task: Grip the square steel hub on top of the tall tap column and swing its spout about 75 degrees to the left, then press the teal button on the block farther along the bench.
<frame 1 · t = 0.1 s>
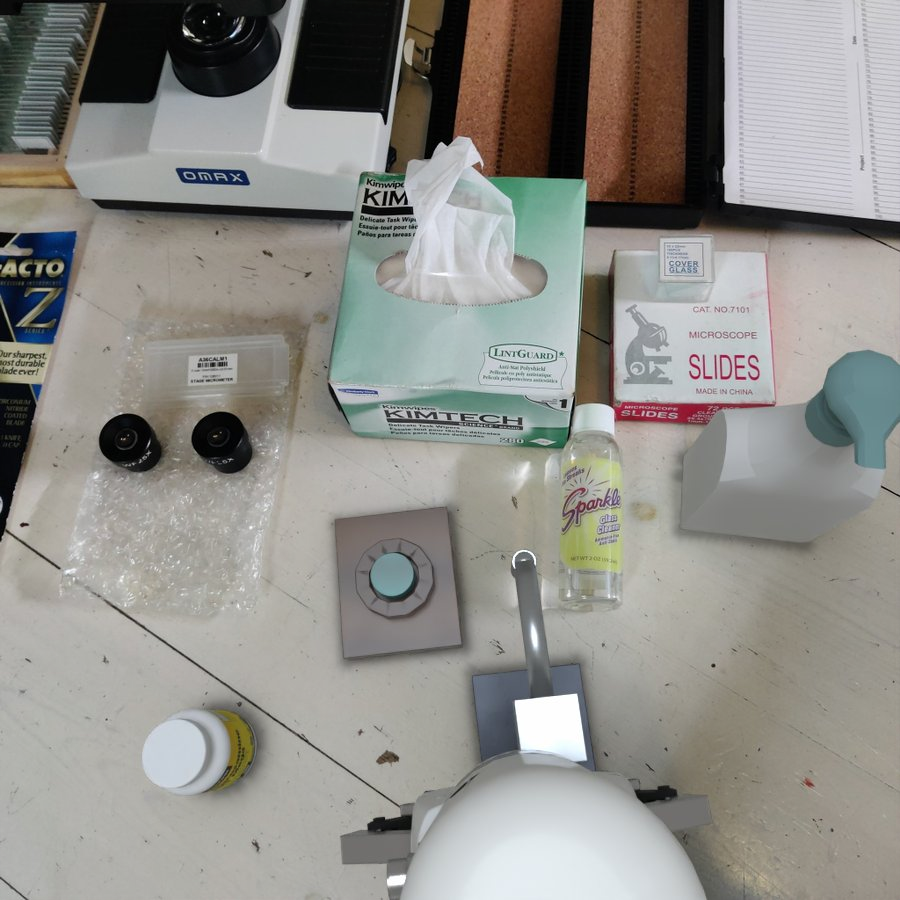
hand: (520, 810, 45), 22 cm above the worktop, tool pointing down, fingers open, 9 cm apart
button: (393, 575, 67), point 4 cm above the worktop, slide at 0.1 cm
button block: (399, 584, 72), on the worktop
spout: (536, 651, 49), point 21 cm above the worktop, hinge at 0.0°
tap column: (532, 726, 67), on the worktop
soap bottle: (741, 511, 72), on the worktop
pill bottle: (223, 748, 68), on the worktop
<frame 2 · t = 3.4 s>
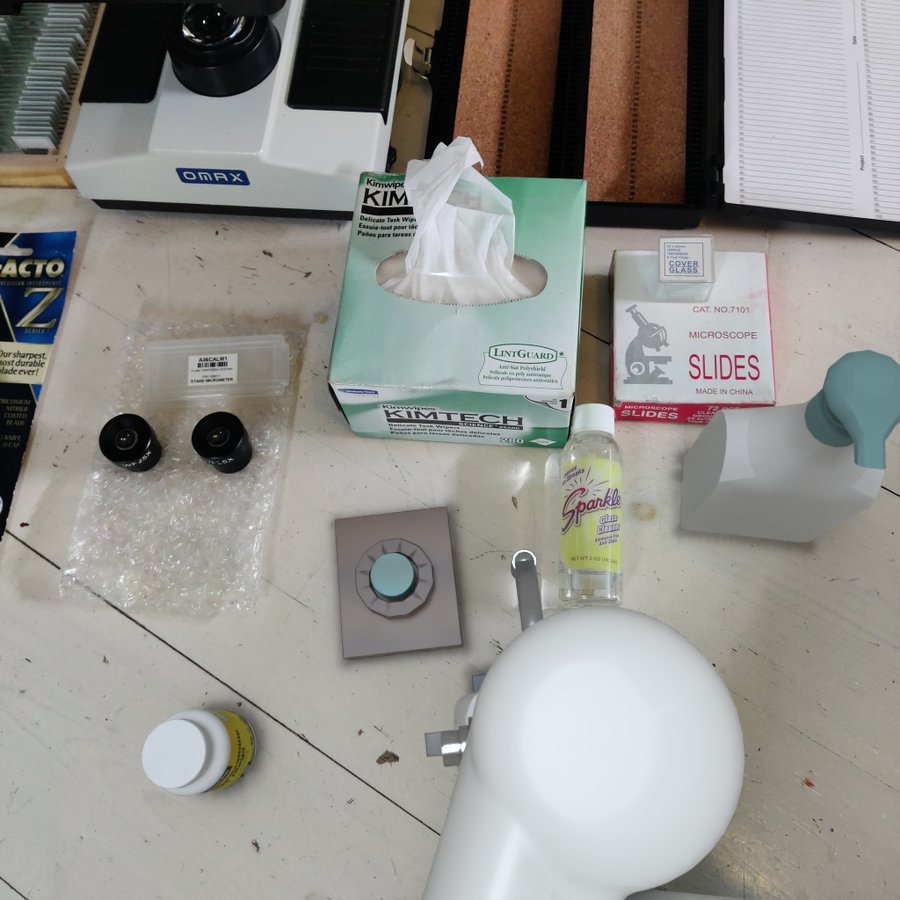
hand: (545, 729, 50), 18 cm above the worktop, tool pointing down, fingers closed on spout, 3 cm apart
spout: (536, 651, 49), point 21 cm above the worktop, hinge at 0.0°, touching gripper
everything else where it was.
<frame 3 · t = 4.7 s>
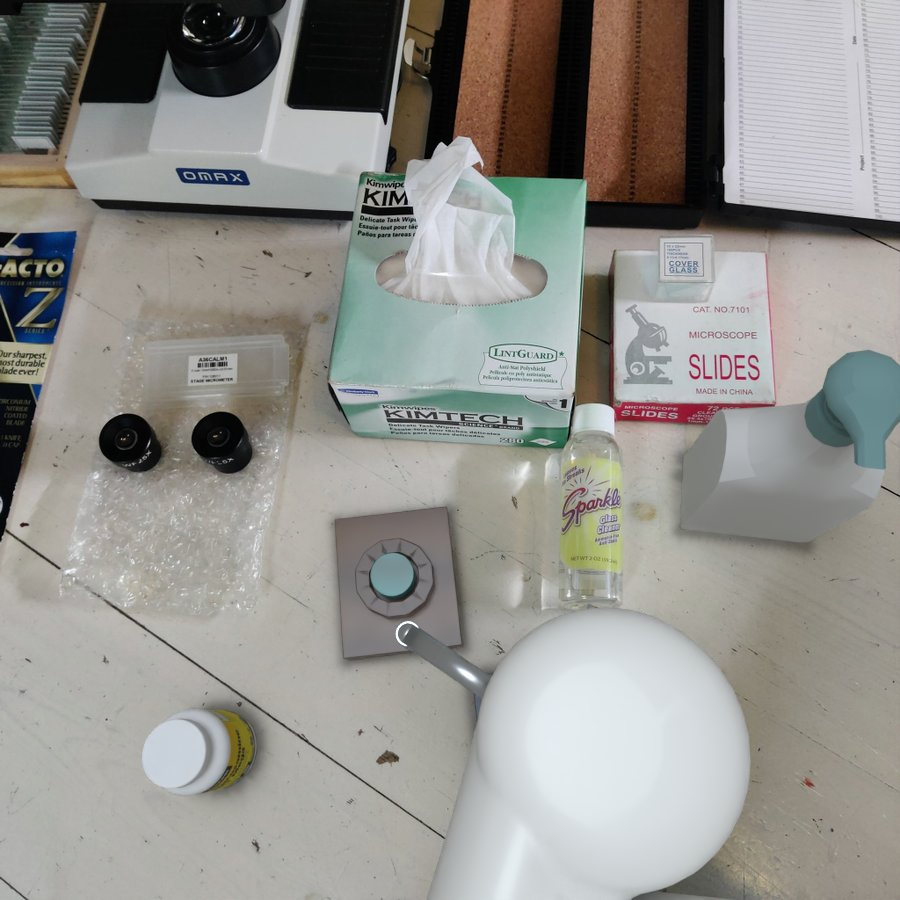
hand: (547, 730, 50), 18 cm above the worktop, tool pointing down, fingers closed on spout, 4 cm apart
spout: (483, 685, 49), point 21 cm above the worktop, hinge at 50.2°, touching gripper
everything else where it was.
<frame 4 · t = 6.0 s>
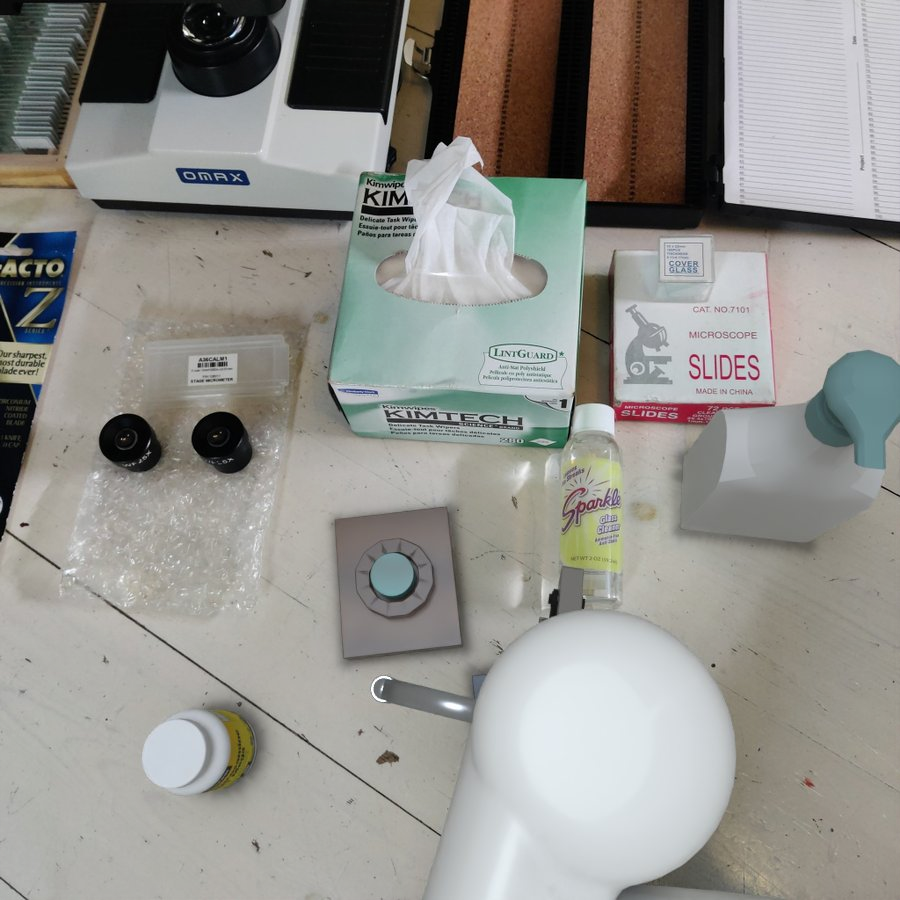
hand: (545, 729, 49), 19 cm above the worktop, tool pointing down, fingers open, 9 cm apart
spout: (472, 710, 48), point 21 cm above the worktop, hinge at 70.5°
everything else where it was.
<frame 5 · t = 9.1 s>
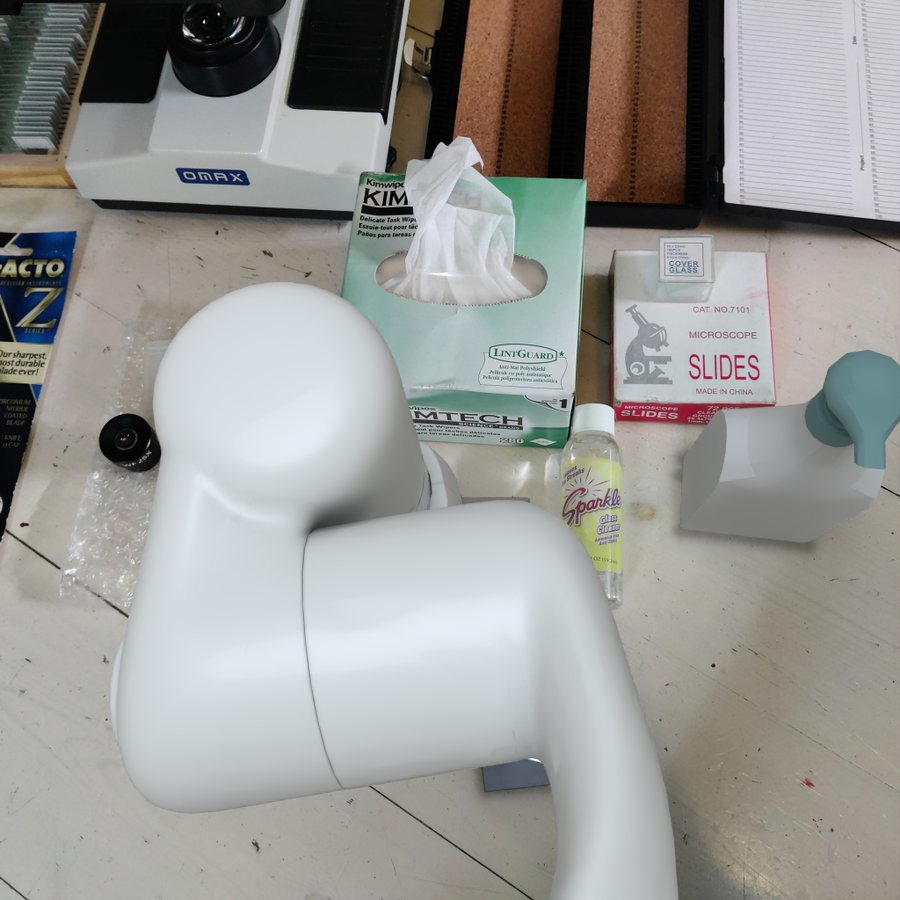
hand: (389, 554, 51), 21 cm above the worktop, tool pointing down, fingers open, 9 cm apart
nothing on the worktop moved.
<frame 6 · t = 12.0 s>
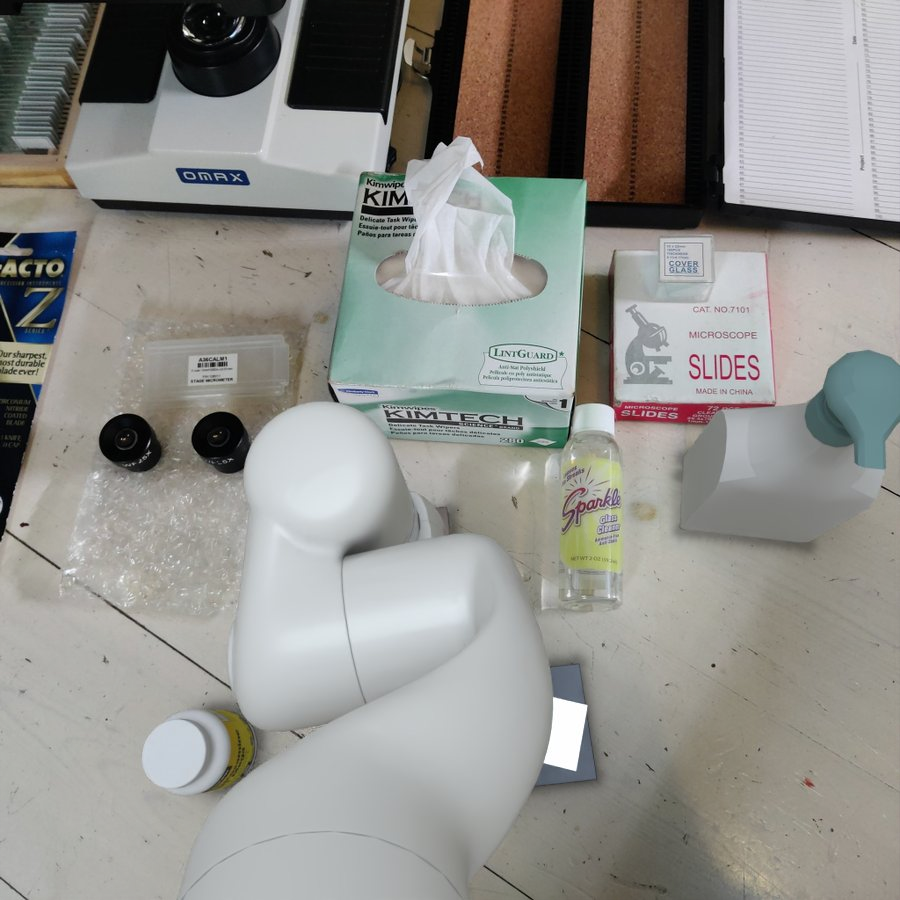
hand: (392, 572, 67), 5 cm above the worktop, tool pointing down, fingers closed
button: (393, 576, 68), point 4 cm above the worktop, slide at -0.3 cm, touching gripper
everything else where it was.
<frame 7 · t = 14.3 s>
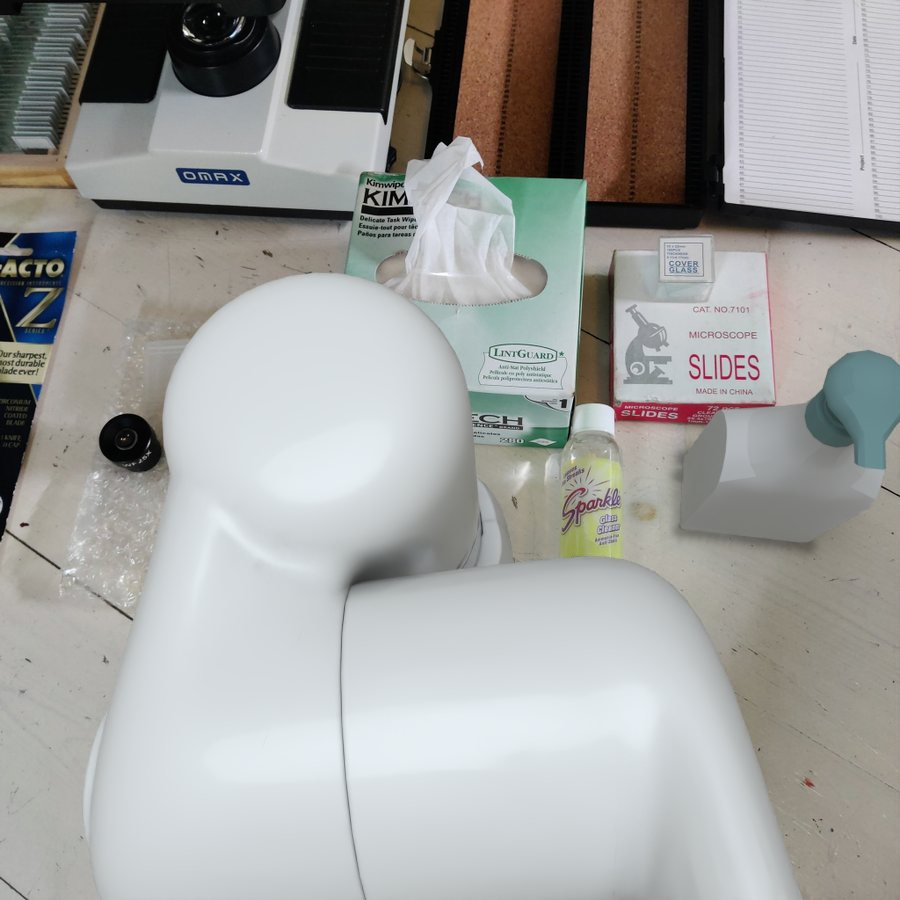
hand: (422, 603, 47), 24 cm above the worktop, tool pointing down, fingers closed
button: (393, 575, 67), point 4 cm above the worktop, slide at 0.1 cm
everything else where it was.
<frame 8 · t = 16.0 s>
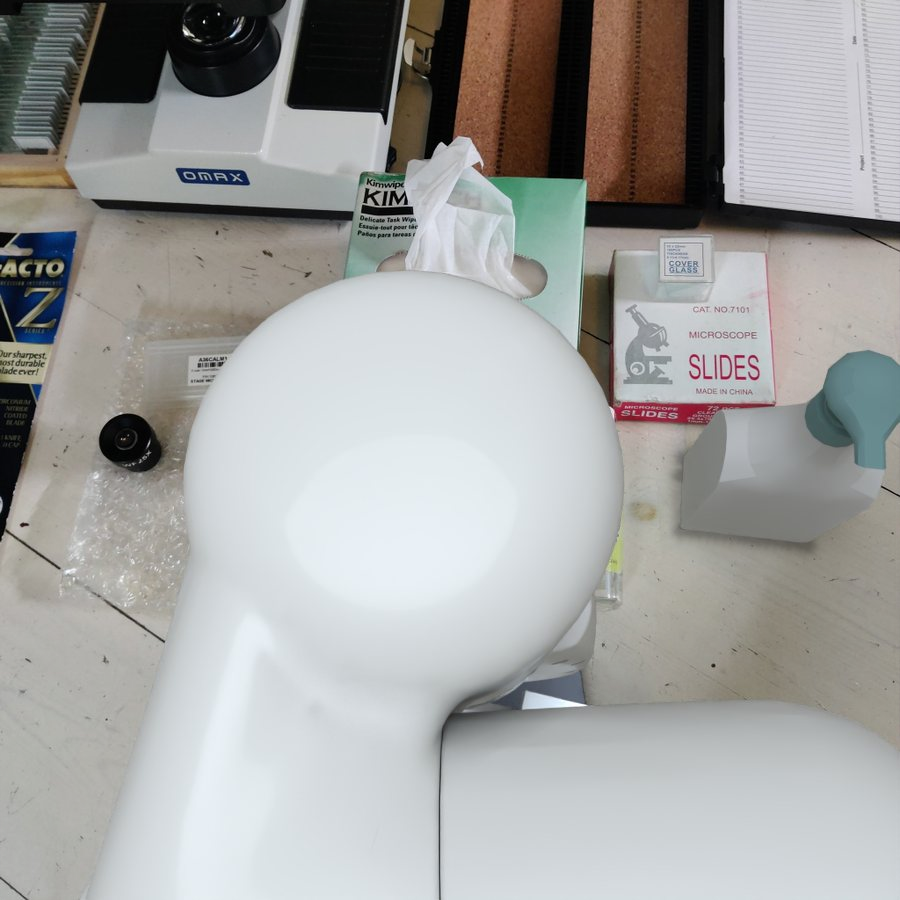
hand: (464, 637, 41), 29 cm above the worktop, tool pointing down, fingers closed
nothing on the worktop moved.
at the end: spout at +71° (first picture: +0°); button pushed in 1.1 cm at the most during the clip, back to where it started at the end; button slide at 0.1 cm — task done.
